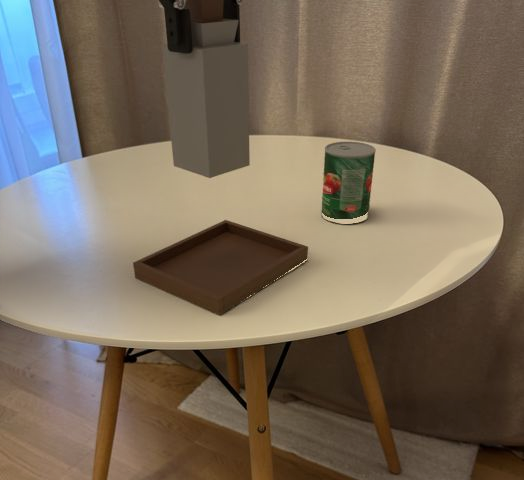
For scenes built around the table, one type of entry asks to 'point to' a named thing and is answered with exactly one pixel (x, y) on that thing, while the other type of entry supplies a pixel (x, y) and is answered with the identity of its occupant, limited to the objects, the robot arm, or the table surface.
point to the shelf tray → (220, 265)
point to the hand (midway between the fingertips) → (205, 46)
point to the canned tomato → (347, 179)
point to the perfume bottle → (209, 94)
